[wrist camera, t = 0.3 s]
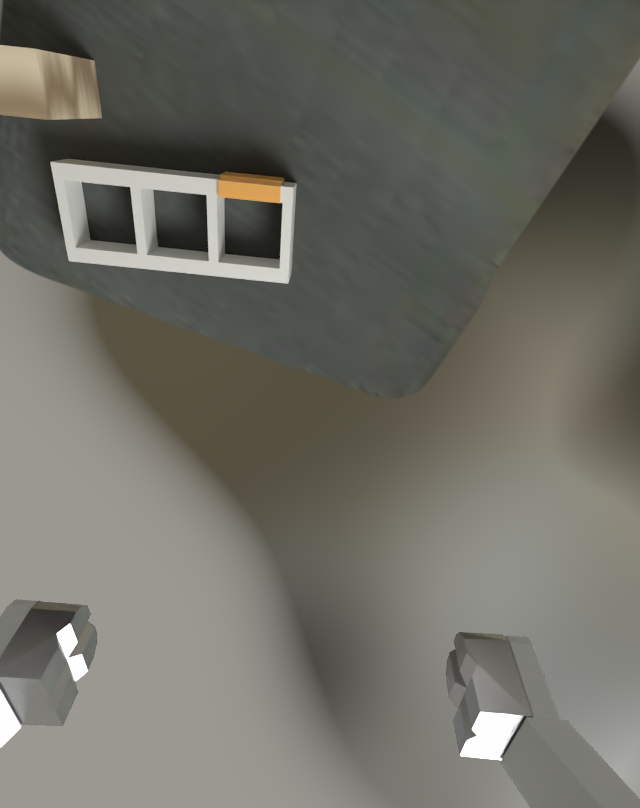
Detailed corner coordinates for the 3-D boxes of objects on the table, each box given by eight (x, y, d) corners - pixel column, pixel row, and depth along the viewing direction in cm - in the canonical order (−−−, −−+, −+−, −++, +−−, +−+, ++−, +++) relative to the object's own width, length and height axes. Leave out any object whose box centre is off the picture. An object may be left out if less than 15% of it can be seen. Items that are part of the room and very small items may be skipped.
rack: (67, 154, 48) (47, 157, 45) (296, 178, 49) (293, 183, 45) (83, 252, 54) (67, 261, 50) (291, 273, 54) (287, 284, 51)
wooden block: (44, 55, 44) (-27, 42, 36) (94, 60, 44) (35, 48, 36) (55, 113, 46) (-10, 113, 38) (101, 118, 47) (48, 119, 38)
